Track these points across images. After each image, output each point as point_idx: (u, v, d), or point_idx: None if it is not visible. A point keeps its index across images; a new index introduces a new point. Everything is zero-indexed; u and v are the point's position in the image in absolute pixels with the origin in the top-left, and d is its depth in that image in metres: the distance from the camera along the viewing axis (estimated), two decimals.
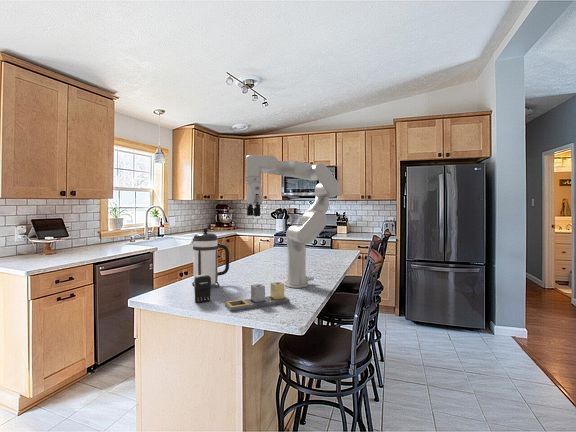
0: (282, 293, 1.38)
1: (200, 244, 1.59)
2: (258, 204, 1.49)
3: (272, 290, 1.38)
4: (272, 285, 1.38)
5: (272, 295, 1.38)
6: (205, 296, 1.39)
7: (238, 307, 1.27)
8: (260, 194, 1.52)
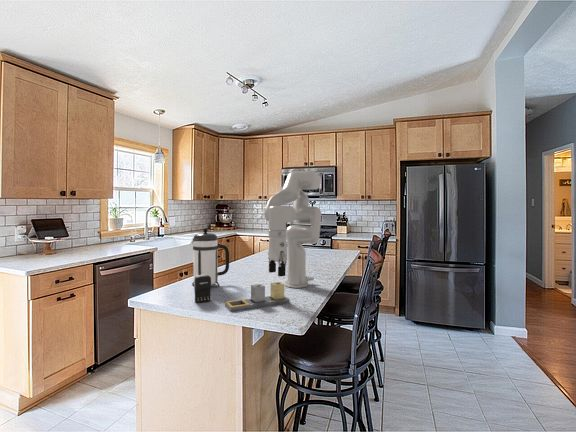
0: (282, 293, 1.38)
1: (200, 244, 1.59)
2: (283, 263, 1.31)
3: (272, 290, 1.38)
4: (272, 285, 1.38)
5: (272, 295, 1.38)
6: (205, 296, 1.39)
7: (238, 307, 1.27)
8: (285, 251, 1.34)
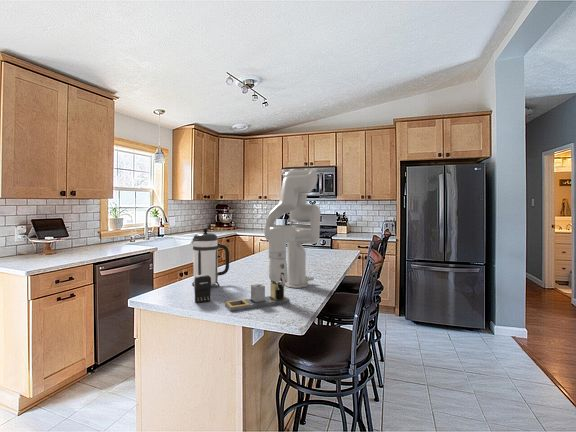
0: None
1: (200, 244, 1.59)
2: (281, 287, 1.34)
3: (272, 290, 1.38)
4: (272, 285, 1.38)
5: (272, 295, 1.38)
6: (205, 296, 1.39)
7: (238, 307, 1.27)
8: (285, 272, 1.35)
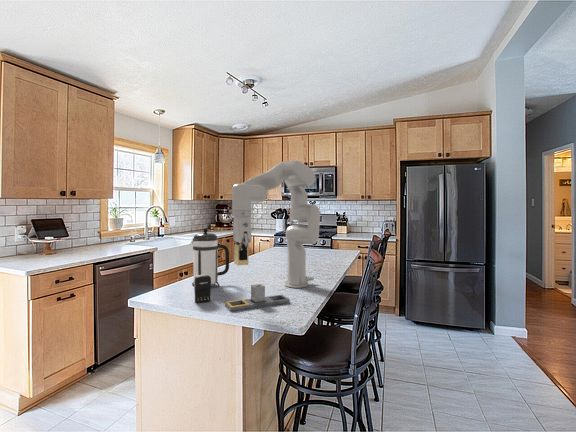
0: None
1: (200, 244, 1.59)
2: (244, 247, 1.27)
3: (235, 251, 1.30)
4: (236, 246, 1.30)
5: (235, 257, 1.30)
6: (205, 296, 1.39)
7: (238, 307, 1.27)
8: (249, 231, 1.27)
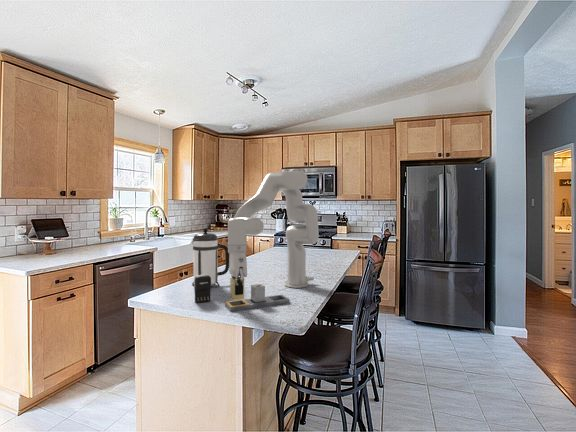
0: None
1: (200, 244, 1.59)
2: (240, 282, 1.26)
3: (231, 286, 1.30)
4: (231, 280, 1.30)
5: (231, 291, 1.30)
6: (205, 296, 1.39)
7: (238, 307, 1.27)
8: (245, 267, 1.27)
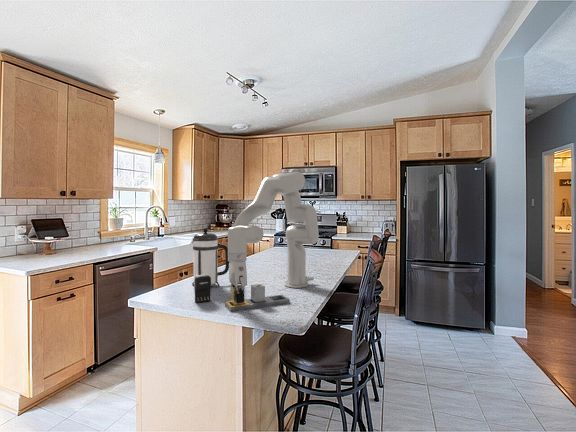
0: None
1: (200, 244, 1.59)
2: (241, 290, 1.25)
3: (231, 295, 1.30)
4: (231, 290, 1.30)
5: (231, 300, 1.30)
6: (205, 296, 1.39)
7: (238, 307, 1.27)
8: (245, 275, 1.27)
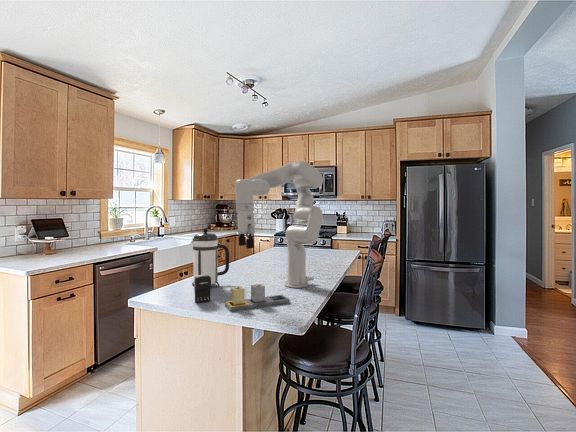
0: (242, 298, 1.30)
1: (200, 244, 1.59)
2: (251, 236, 1.34)
3: (231, 295, 1.30)
4: (231, 290, 1.30)
5: (232, 300, 1.30)
6: (205, 296, 1.39)
7: (238, 307, 1.27)
8: (253, 224, 1.36)
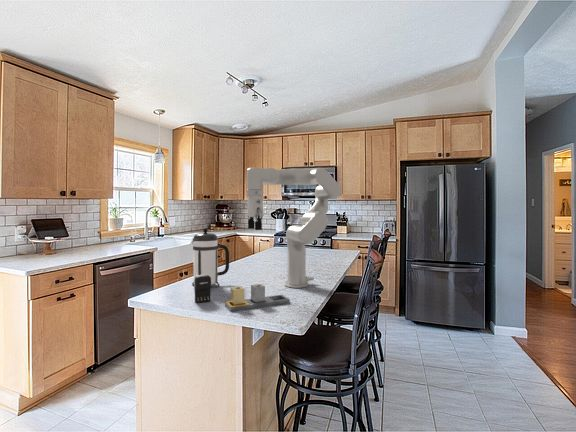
0: (242, 298, 1.30)
1: (200, 244, 1.59)
2: (259, 218, 1.48)
3: (231, 295, 1.30)
4: (231, 290, 1.30)
5: (231, 300, 1.30)
6: (205, 296, 1.39)
7: (238, 307, 1.27)
8: (261, 207, 1.51)
